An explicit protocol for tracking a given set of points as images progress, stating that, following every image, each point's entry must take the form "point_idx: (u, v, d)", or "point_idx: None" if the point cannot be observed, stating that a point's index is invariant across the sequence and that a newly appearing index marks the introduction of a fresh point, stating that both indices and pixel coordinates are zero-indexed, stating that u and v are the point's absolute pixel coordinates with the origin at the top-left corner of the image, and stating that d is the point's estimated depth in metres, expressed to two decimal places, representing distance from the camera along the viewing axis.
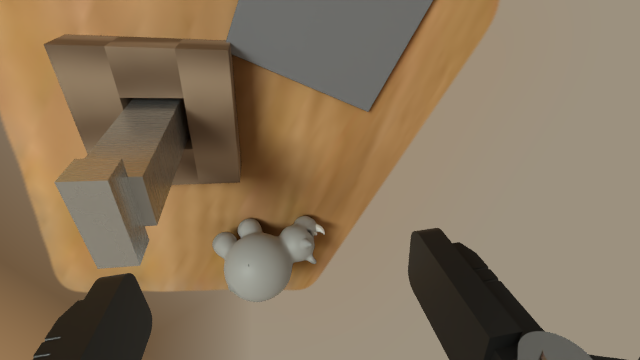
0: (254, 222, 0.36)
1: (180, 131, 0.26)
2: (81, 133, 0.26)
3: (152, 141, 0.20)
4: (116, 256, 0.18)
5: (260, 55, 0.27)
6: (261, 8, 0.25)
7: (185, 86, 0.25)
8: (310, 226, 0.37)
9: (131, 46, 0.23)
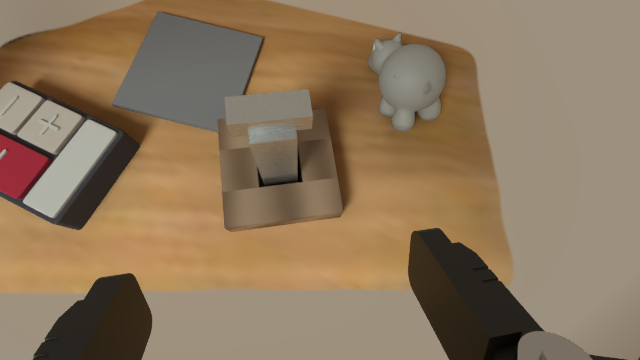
0: None
1: None
2: (291, 217, 0.33)
3: None
4: (297, 102, 0.23)
5: None
6: (199, 111, 0.38)
7: (245, 145, 0.35)
8: (372, 53, 0.40)
9: None
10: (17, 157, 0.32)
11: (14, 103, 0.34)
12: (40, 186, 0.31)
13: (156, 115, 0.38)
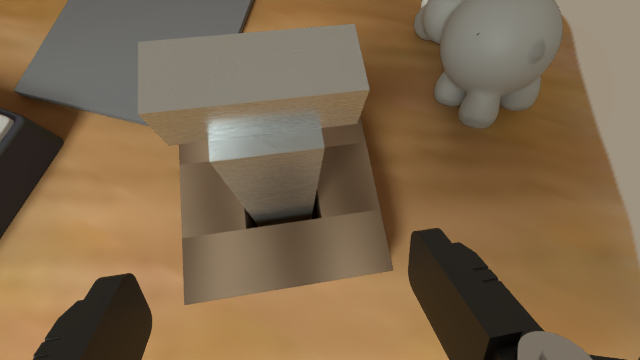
0: None
1: None
2: (303, 282, 0.19)
3: None
4: (329, 55, 0.09)
5: None
6: None
7: None
8: (422, 10, 0.26)
9: None
10: None
11: None
12: None
13: (84, 108, 0.24)
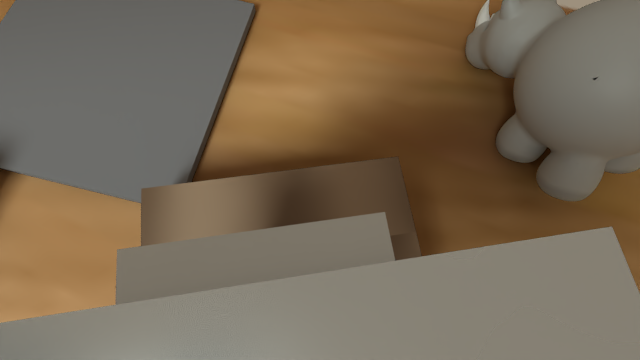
0: (500, 132, 0.19)
1: None
2: None
3: None
4: None
5: (180, 157, 0.18)
6: (113, 161, 0.17)
7: None
8: (479, 30, 0.19)
9: None
10: None
11: None
12: None
13: (16, 171, 0.17)
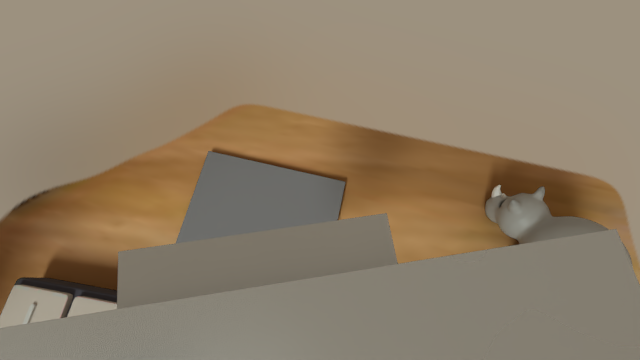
0: None
1: None
2: None
3: None
4: None
5: None
6: None
7: None
8: (494, 203, 0.30)
9: None
10: None
11: (33, 315, 0.25)
12: None
13: None
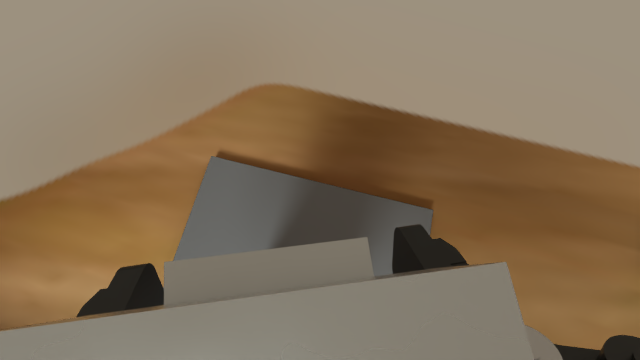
0: None
1: None
2: None
3: None
4: None
5: None
6: None
7: None
8: None
9: None
10: None
11: None
12: None
13: None
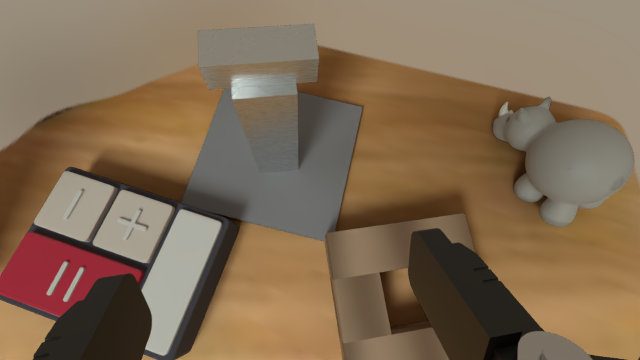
0: (516, 184, 0.31)
1: None
2: None
3: None
4: (298, 40, 0.17)
5: (330, 209, 0.29)
6: (292, 212, 0.29)
7: (367, 270, 0.26)
8: (502, 120, 0.32)
9: (339, 318, 0.25)
10: (100, 276, 0.24)
11: (80, 200, 0.26)
12: None
13: (238, 218, 0.29)
